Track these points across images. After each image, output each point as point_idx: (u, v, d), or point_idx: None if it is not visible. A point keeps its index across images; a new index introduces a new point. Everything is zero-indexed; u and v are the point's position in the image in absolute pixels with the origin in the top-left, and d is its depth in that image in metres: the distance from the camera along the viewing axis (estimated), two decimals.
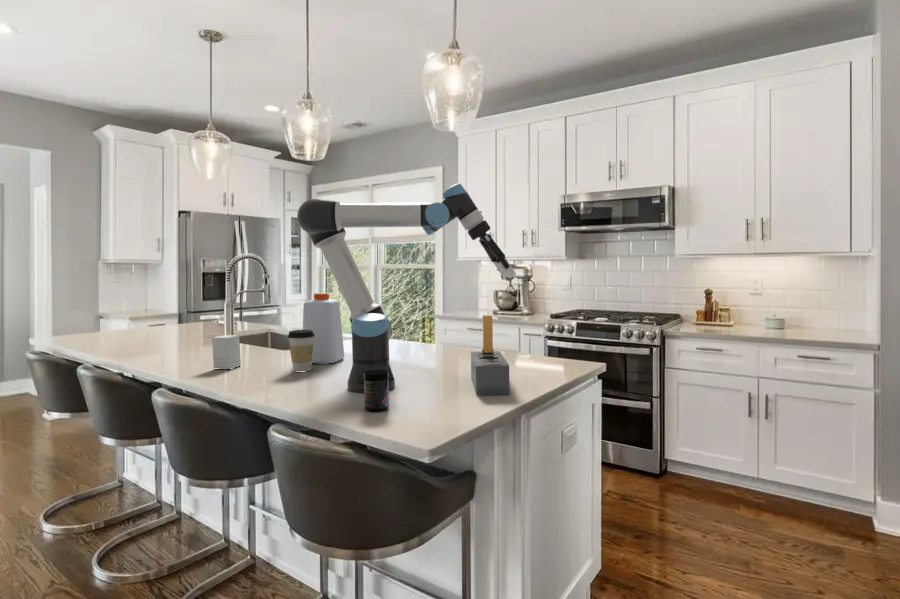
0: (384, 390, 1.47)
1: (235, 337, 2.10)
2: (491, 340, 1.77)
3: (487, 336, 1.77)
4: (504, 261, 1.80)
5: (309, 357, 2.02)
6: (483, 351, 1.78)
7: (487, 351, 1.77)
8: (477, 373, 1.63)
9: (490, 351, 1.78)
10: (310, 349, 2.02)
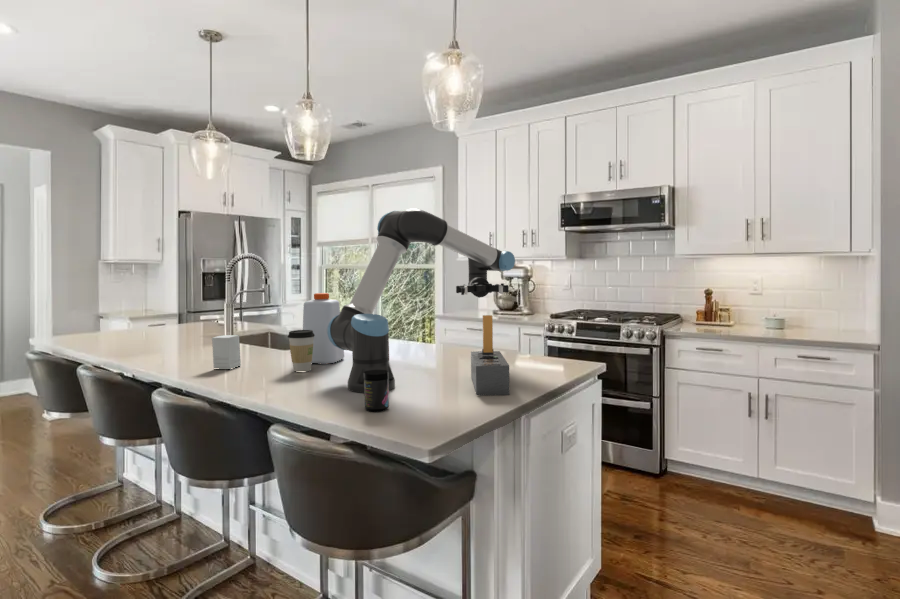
0: (384, 390, 1.47)
1: (235, 337, 2.10)
2: (491, 340, 1.77)
3: (487, 336, 1.77)
4: None
5: (309, 357, 2.02)
6: (483, 351, 1.78)
7: (487, 351, 1.77)
8: (477, 373, 1.63)
9: (490, 351, 1.78)
10: (310, 349, 2.02)
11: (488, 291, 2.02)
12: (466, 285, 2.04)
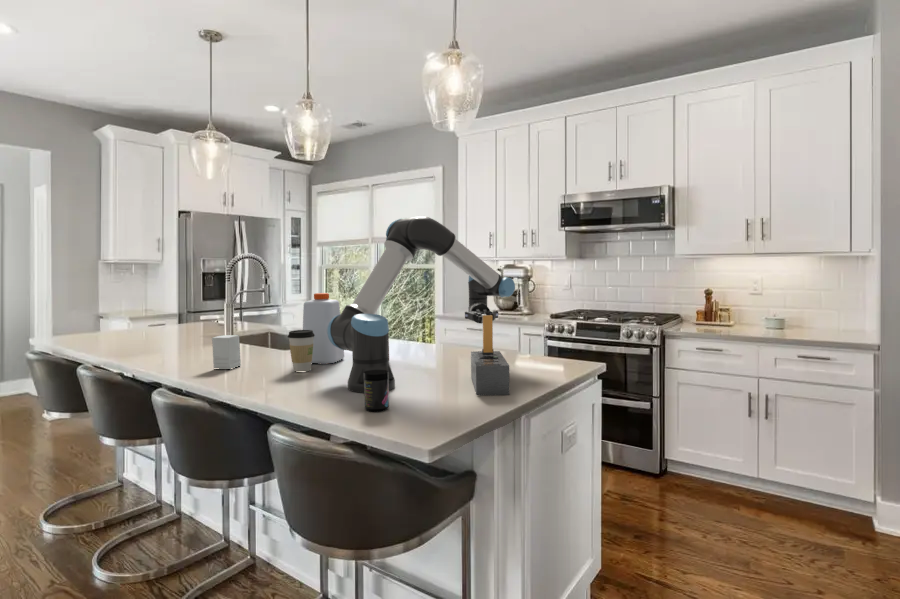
0: (384, 390, 1.47)
1: (235, 337, 2.10)
2: (491, 340, 1.77)
3: (487, 336, 1.77)
4: None
5: (309, 357, 2.02)
6: (483, 351, 1.78)
7: (487, 351, 1.77)
8: (477, 373, 1.63)
9: (490, 351, 1.78)
10: (310, 349, 2.02)
11: None
12: (470, 312, 2.04)
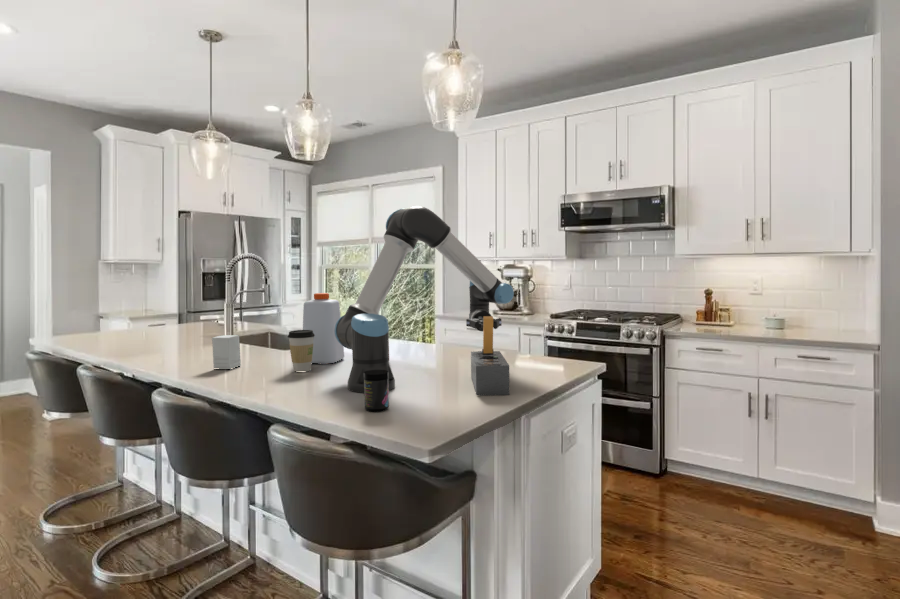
0: (384, 390, 1.47)
1: (235, 337, 2.10)
2: (491, 341, 1.76)
3: (487, 338, 1.76)
4: None
5: (309, 357, 2.02)
6: (483, 352, 1.78)
7: (487, 352, 1.77)
8: (477, 373, 1.63)
9: (490, 352, 1.78)
10: (310, 349, 2.02)
11: None
12: (472, 319, 1.93)
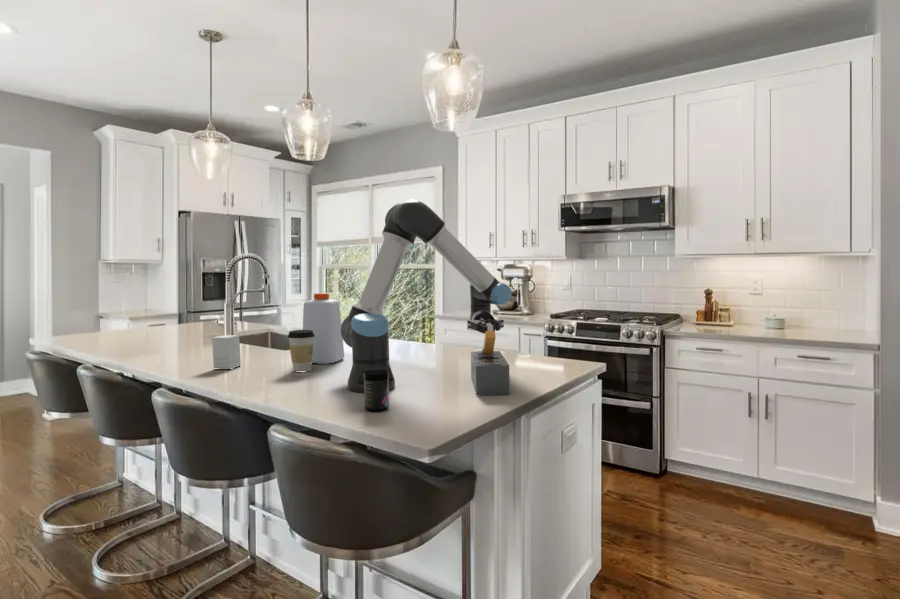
0: (384, 390, 1.47)
1: (235, 337, 2.10)
2: (492, 349, 1.75)
3: (488, 347, 1.74)
4: (494, 328, 1.77)
5: (309, 357, 2.02)
6: (483, 354, 1.78)
7: (487, 354, 1.78)
8: (477, 373, 1.63)
9: (490, 354, 1.78)
10: (310, 349, 2.02)
11: None
12: None
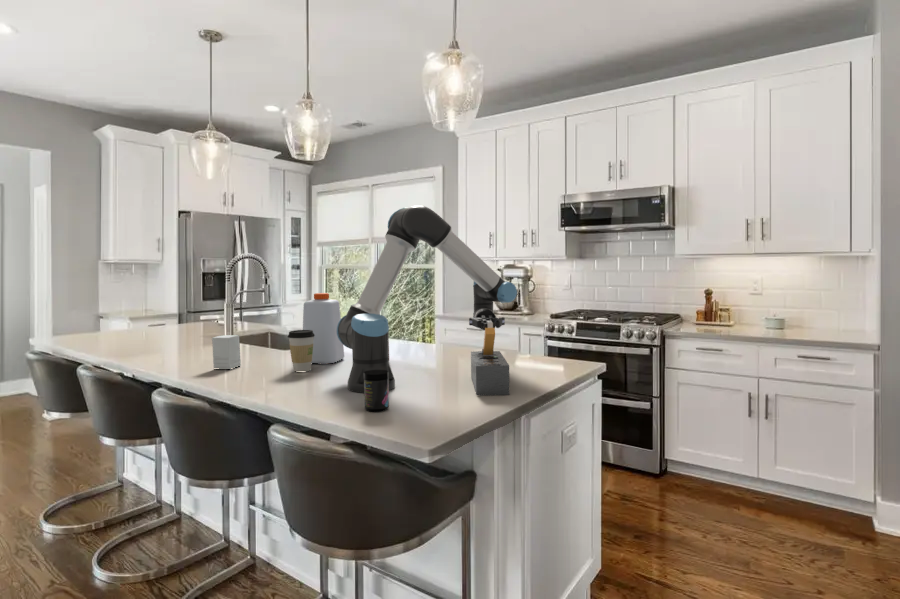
0: (384, 390, 1.47)
1: (235, 337, 2.10)
2: (492, 348, 1.75)
3: (488, 346, 1.74)
4: (494, 325, 1.82)
5: (309, 357, 2.02)
6: (483, 353, 1.78)
7: (487, 354, 1.78)
8: (477, 373, 1.63)
9: (490, 354, 1.78)
10: (310, 349, 2.02)
11: None
12: (474, 318, 1.92)
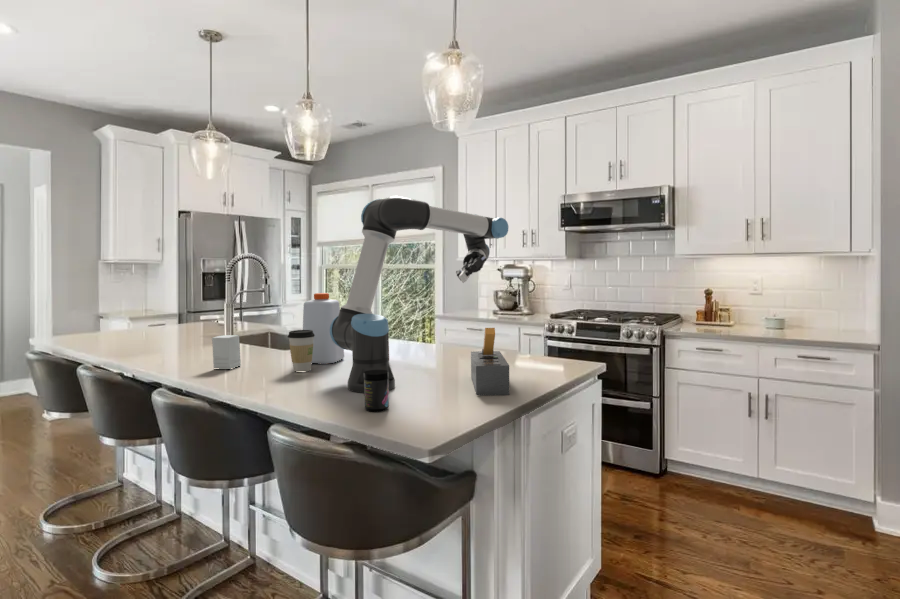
0: (384, 390, 1.47)
1: (235, 337, 2.10)
2: (492, 348, 1.75)
3: (488, 346, 1.74)
4: (470, 271, 1.90)
5: (309, 357, 2.02)
6: (483, 353, 1.78)
7: (487, 354, 1.78)
8: (477, 373, 1.63)
9: (490, 354, 1.78)
10: (310, 349, 2.02)
11: None
12: (459, 270, 2.01)
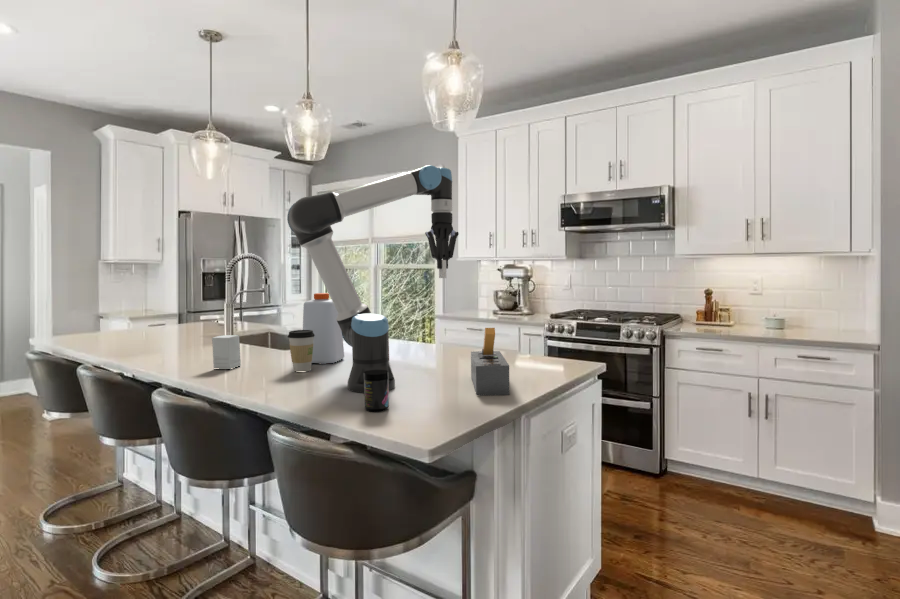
0: (384, 390, 1.47)
1: (235, 337, 2.10)
2: (492, 348, 1.75)
3: (488, 346, 1.74)
4: (438, 261, 1.95)
5: (309, 357, 2.02)
6: (483, 353, 1.78)
7: (487, 354, 1.78)
8: (477, 373, 1.63)
9: (490, 354, 1.78)
10: (310, 349, 2.02)
11: None
12: None
